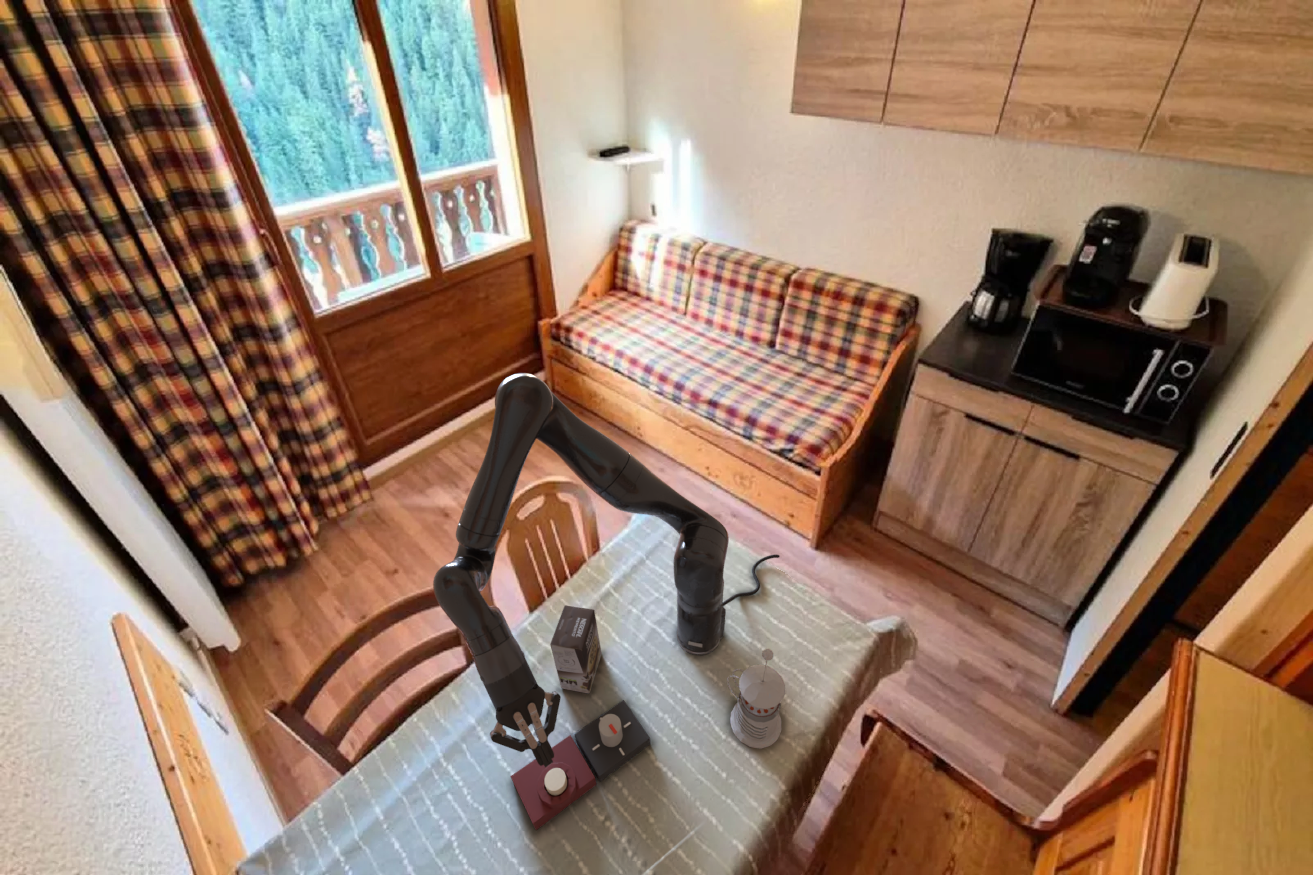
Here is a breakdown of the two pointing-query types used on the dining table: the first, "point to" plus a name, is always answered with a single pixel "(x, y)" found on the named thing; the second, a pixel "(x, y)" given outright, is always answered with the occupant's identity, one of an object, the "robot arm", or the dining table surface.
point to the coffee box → (576, 648)
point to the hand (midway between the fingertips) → (548, 763)
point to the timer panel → (614, 757)
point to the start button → (555, 781)
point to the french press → (758, 704)
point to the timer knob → (610, 730)
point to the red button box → (534, 790)
